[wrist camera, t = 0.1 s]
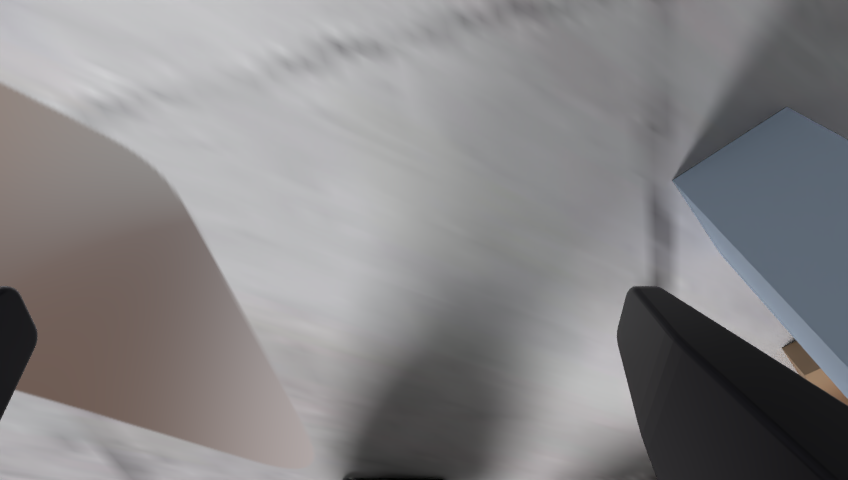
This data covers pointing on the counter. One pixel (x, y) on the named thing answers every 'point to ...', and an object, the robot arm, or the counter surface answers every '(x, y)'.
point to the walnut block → (812, 370)
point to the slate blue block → (784, 227)
